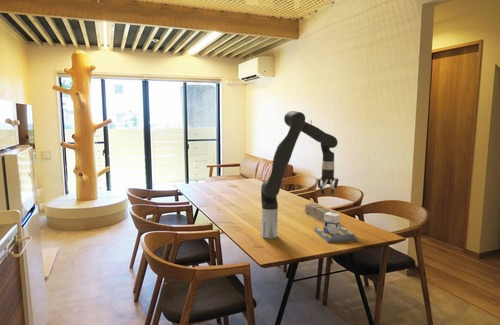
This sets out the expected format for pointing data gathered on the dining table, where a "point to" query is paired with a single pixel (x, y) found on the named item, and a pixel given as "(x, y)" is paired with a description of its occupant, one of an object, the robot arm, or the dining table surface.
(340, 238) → the channel
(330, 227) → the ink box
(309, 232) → the dining table surface
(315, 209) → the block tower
